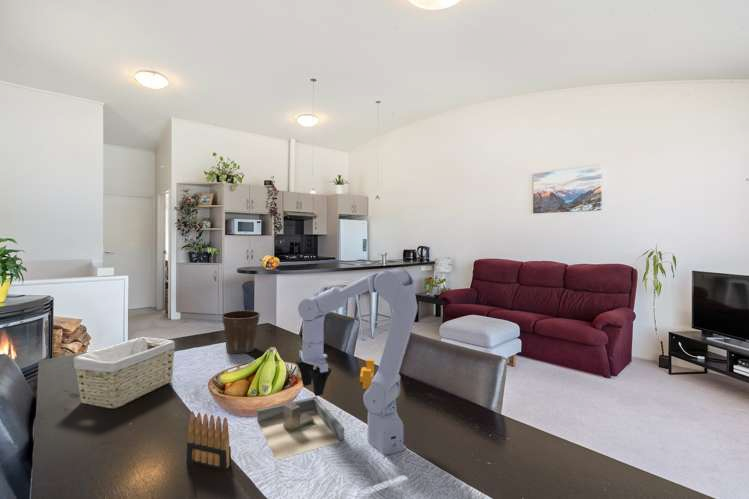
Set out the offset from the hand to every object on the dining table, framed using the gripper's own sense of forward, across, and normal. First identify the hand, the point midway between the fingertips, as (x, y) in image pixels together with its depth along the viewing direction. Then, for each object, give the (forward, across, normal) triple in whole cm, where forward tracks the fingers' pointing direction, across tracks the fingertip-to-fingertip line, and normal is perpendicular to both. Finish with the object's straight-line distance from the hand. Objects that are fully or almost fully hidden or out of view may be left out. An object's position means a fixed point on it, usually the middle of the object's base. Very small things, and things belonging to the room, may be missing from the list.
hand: (312, 389), depth 102 cm
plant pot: (+9, +76, 0) cm, 76 cm away
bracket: (+8, 0, +4) cm, 9 cm away
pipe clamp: (+10, +16, -28) cm, 34 cm away
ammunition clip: (+10, -5, +28) cm, 30 cm away
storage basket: (+9, +50, +42) cm, 66 cm away
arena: (+9, -3, +5) cm, 11 cm away
